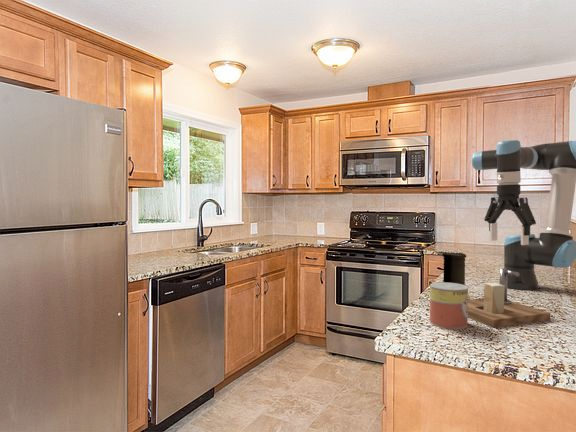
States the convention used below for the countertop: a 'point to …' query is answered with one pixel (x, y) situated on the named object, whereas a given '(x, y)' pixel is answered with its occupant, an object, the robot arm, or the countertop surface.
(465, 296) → the canned food
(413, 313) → the countertop surface
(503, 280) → the door lever handle
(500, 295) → the box
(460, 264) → the container
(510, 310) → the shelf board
